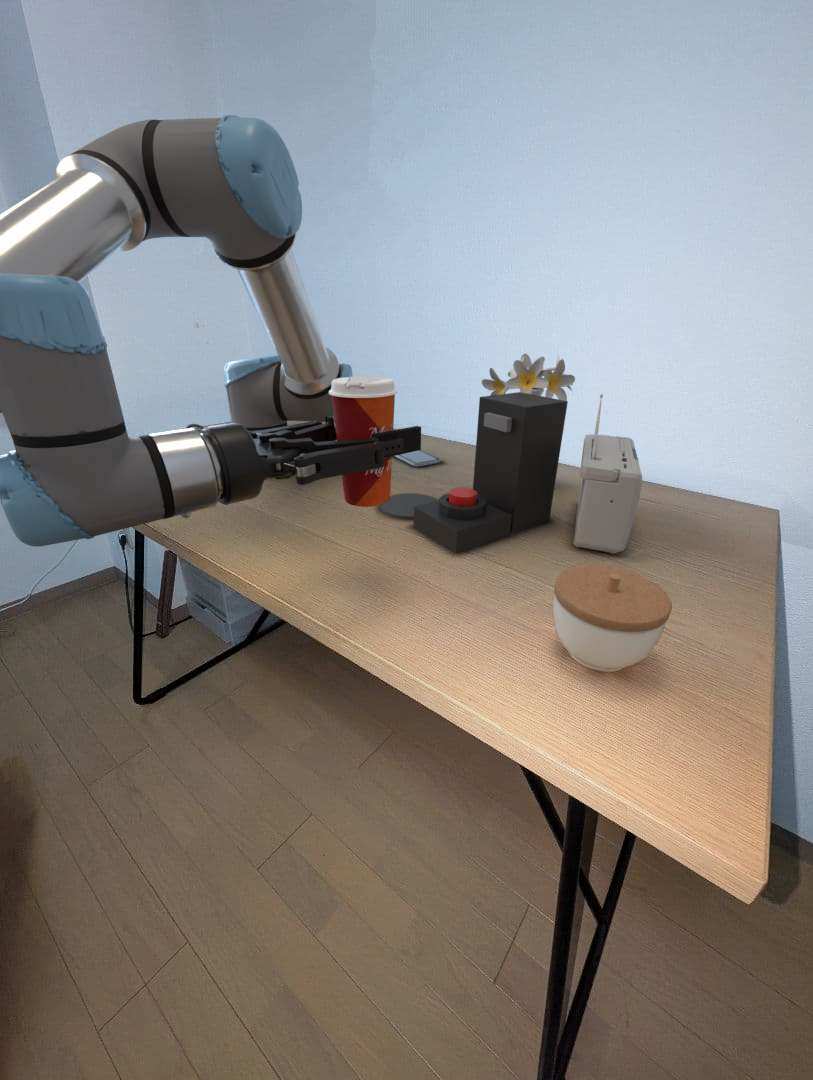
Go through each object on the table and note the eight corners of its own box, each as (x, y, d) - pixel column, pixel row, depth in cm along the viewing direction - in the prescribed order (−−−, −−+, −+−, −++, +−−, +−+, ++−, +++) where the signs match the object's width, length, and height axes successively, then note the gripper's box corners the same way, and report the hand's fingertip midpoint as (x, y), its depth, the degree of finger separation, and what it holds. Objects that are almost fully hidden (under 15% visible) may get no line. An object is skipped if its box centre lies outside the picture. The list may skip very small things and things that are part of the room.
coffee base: (413, 527, 78) (414, 496, 75) (464, 513, 83) (466, 483, 81) (455, 553, 70) (457, 519, 67) (509, 536, 75) (513, 504, 73)
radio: (625, 559, 68) (659, 421, 59) (566, 550, 71) (590, 416, 62) (620, 508, 86) (645, 395, 77) (573, 502, 88) (592, 392, 79)
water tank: (466, 514, 83) (474, 397, 74) (507, 502, 88) (519, 391, 79) (507, 534, 75) (521, 407, 67) (549, 521, 80) (568, 401, 72)
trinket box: (539, 672, 47) (553, 593, 43) (550, 613, 56) (562, 543, 52) (657, 701, 44) (684, 618, 40) (648, 634, 53) (670, 561, 49)
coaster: (369, 503, 87) (369, 500, 87) (418, 492, 92) (418, 489, 92) (401, 524, 79) (402, 521, 78) (453, 510, 84) (453, 507, 84)
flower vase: (465, 484, 97) (474, 354, 85) (524, 468, 107) (538, 349, 96) (514, 503, 87) (531, 360, 76) (573, 483, 98) (596, 354, 86)
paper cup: (390, 512, 54) (388, 385, 48) (327, 507, 55) (317, 383, 49) (404, 489, 61) (404, 376, 55) (347, 486, 62) (341, 374, 56)
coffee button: (442, 501, 75) (443, 490, 74) (464, 495, 77) (464, 485, 76) (460, 510, 71) (461, 499, 71) (482, 504, 74) (483, 493, 73)
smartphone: (416, 464, 106) (382, 448, 117) (415, 468, 106) (383, 451, 118) (442, 459, 110) (407, 444, 121) (442, 462, 110) (407, 447, 121)
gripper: (186, 478, 53) (357, 445, 66) (255, 539, 40) (453, 482, 53) (171, 411, 50) (355, 389, 63) (242, 452, 36) (457, 414, 49)
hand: (399, 432), depth 58 cm, fingers closed on paper cup, 6 cm apart
